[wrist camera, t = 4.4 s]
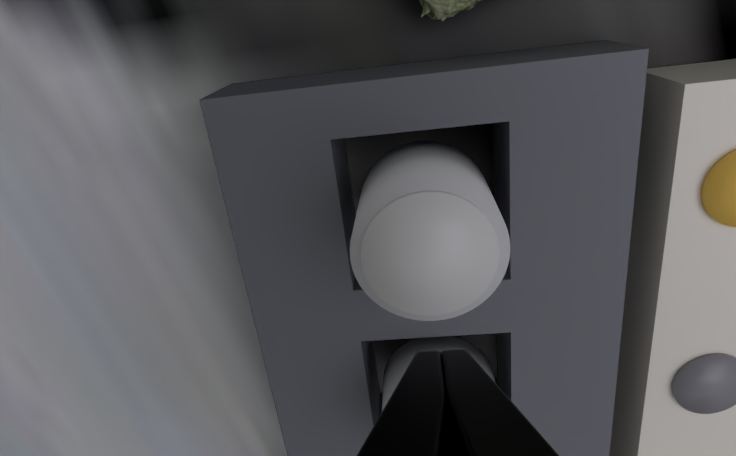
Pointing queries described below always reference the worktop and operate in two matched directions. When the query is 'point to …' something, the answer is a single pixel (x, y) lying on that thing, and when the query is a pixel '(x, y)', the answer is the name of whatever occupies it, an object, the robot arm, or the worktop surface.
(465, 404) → the robot arm
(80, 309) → the worktop surface
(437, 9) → the washcloth
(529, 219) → the board
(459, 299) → the button
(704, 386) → the tile
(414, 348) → the button
